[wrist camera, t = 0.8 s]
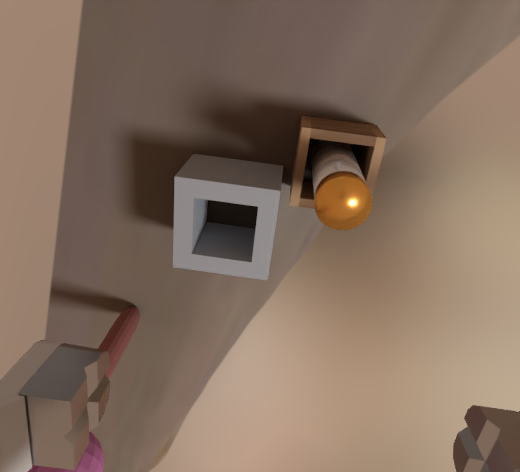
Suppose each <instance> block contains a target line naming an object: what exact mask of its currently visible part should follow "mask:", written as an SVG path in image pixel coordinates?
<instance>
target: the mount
mask: <svg viewBox="0 0 520 472" xmlns="http://www.w3.org/2000/svg"><path fill="white" fill-rule="evenodd" d="M310 138H312V139H320V140H328V141H335V142H343V143H350V144H358V145H363V148H362V153H361V157H360V161H359V167H360V170H361V172H362V174H363V177H364V179H365V182H366V184H367V186H368V189H369V191H370V193H371V196H372V194H373V190H374V187H375V183H376V178H377V175H378V171H379V167H380V163H381V159H382V155H383V151H384V147H385V144H386V140H387V138H386V137H385V136H384V134H383V133H382V132H381V130H380V129H379V128H378V126H377V125H370V124H362V123H355V122H347V121H339V120H332V119H324V118H316V117H309V116H301V123H300V129H299V136H298V142H297V148H296V155H295V161H294V168H293V174H292V181H291V189H290V205H292V206H299V207H306V208H314V209H315V200H314V188H313V181H306V180H303V176H304V170H305V164H306V158H307V152H308V146H309V140H310Z"/></svg>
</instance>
